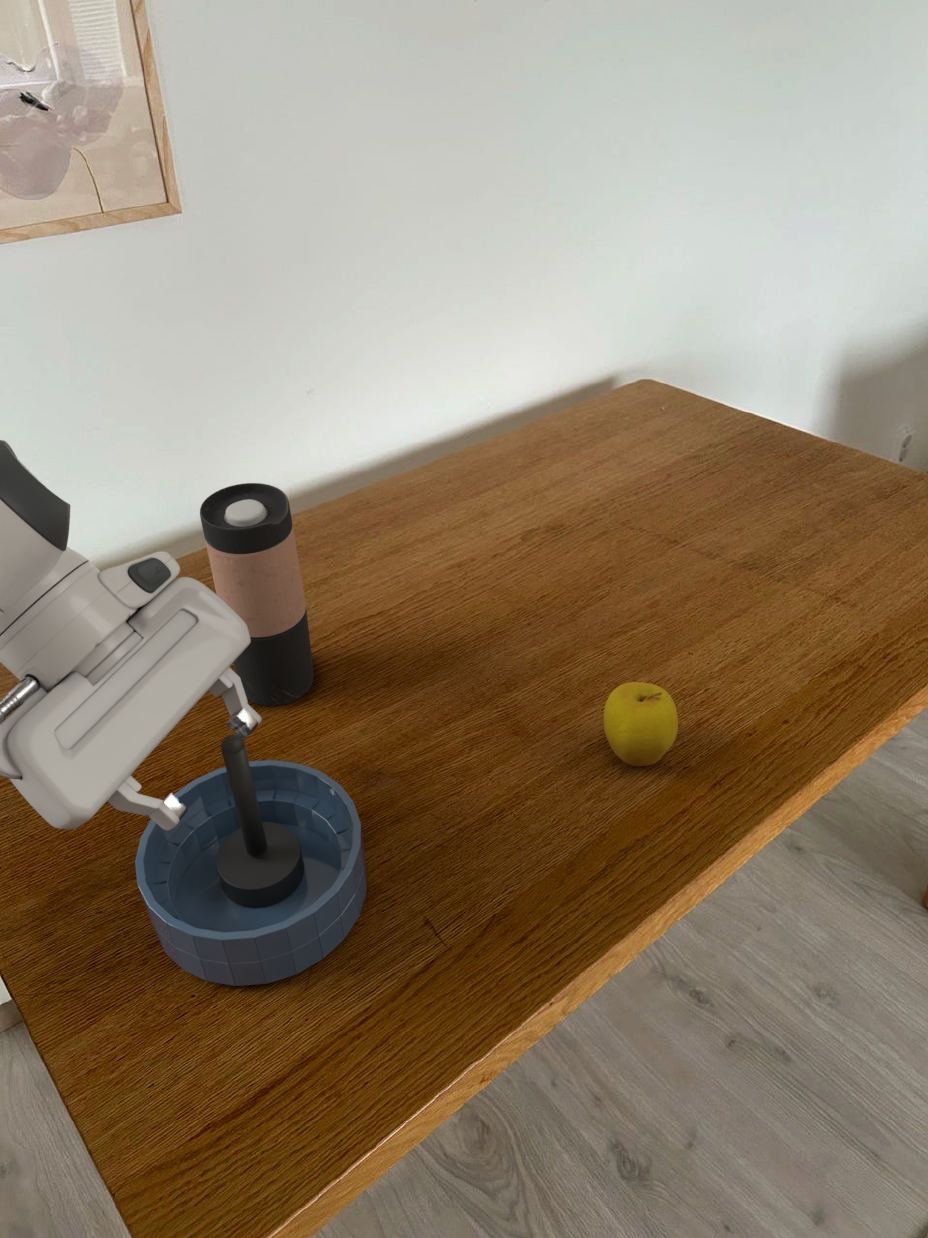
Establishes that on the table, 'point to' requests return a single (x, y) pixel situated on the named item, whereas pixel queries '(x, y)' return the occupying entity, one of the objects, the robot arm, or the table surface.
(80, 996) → the table surface
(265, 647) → the travel mug
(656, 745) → the yellow fruit
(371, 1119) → the table surface
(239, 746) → the joystick
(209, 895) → the bowl
